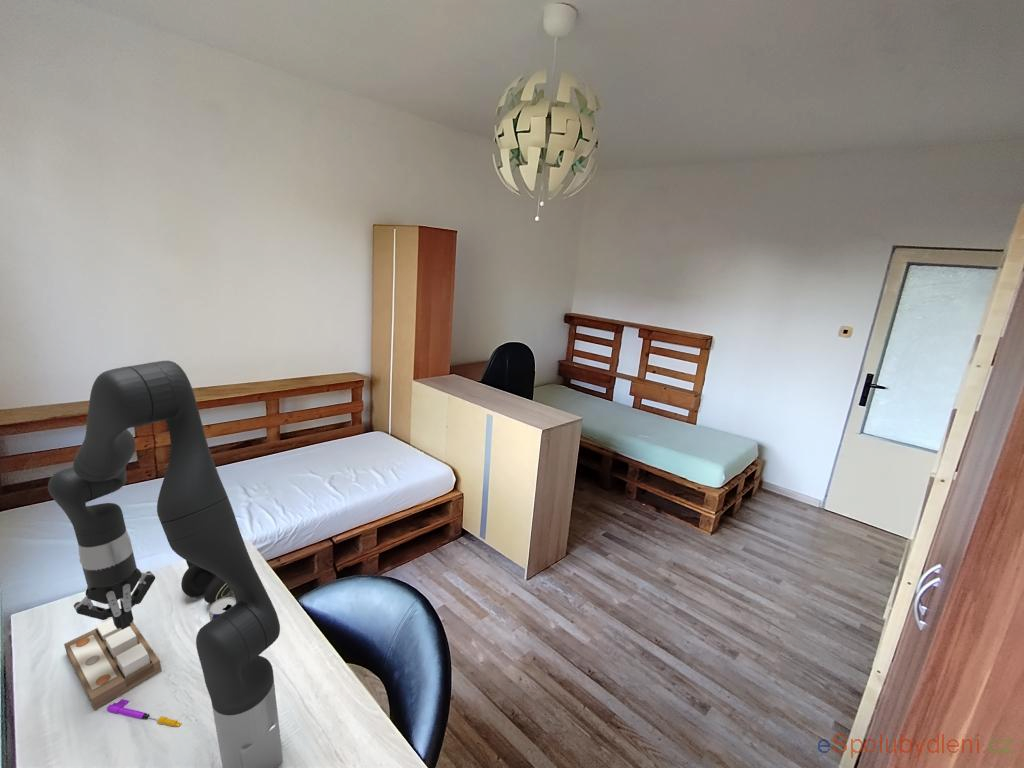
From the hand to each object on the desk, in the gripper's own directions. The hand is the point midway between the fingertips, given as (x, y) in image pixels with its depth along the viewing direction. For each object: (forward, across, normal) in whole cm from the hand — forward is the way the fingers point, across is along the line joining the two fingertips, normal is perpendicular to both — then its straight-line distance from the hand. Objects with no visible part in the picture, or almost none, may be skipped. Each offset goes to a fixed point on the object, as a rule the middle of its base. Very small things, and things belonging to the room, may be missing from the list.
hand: (125, 625), depth 92 cm
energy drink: (+12, +15, -9) cm, 21 cm away
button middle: (+9, 0, +6) cm, 11 cm away
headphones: (+12, +19, +11) cm, 25 cm away
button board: (+12, -2, +6) cm, 13 cm away
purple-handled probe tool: (+13, -2, -12) cm, 18 cm away
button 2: (+10, 0, -1) cm, 10 cm away
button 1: (+10, 0, +13) cm, 16 cm away
